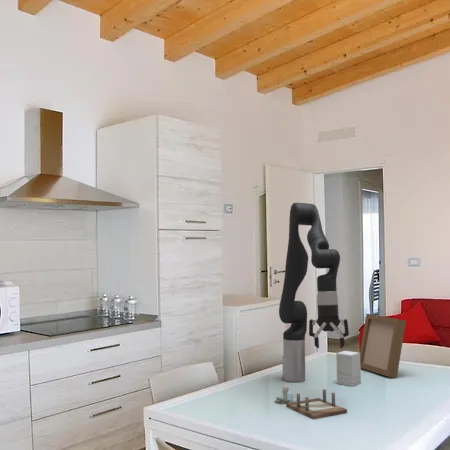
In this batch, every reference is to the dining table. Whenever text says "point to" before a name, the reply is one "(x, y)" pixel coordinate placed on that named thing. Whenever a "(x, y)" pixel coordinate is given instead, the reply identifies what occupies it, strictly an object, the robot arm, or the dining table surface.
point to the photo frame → (382, 344)
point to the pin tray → (316, 407)
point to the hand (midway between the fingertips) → (329, 348)
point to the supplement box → (348, 368)
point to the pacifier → (285, 396)
